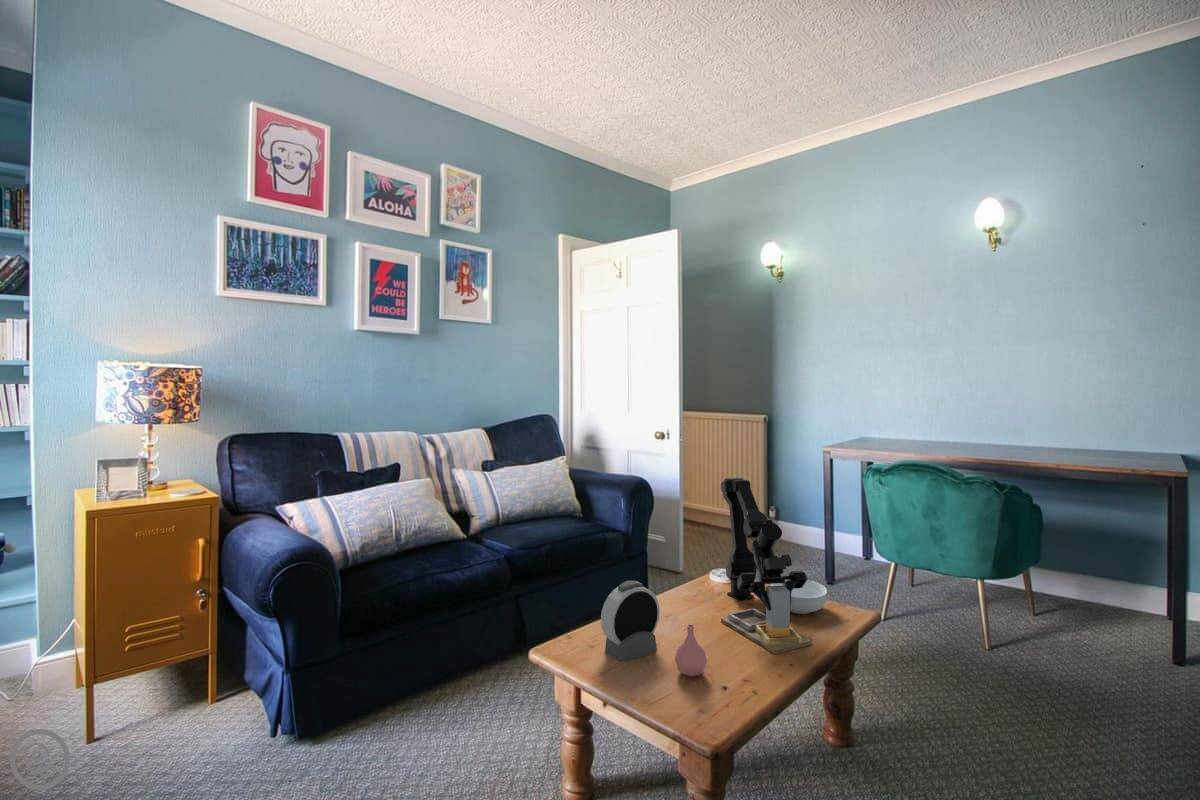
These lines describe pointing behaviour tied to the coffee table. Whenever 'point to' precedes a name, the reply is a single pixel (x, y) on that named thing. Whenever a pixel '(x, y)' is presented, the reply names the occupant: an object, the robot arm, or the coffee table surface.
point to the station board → (763, 631)
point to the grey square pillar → (778, 611)
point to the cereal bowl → (807, 597)
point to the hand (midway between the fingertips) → (779, 609)
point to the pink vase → (690, 655)
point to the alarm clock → (630, 621)
